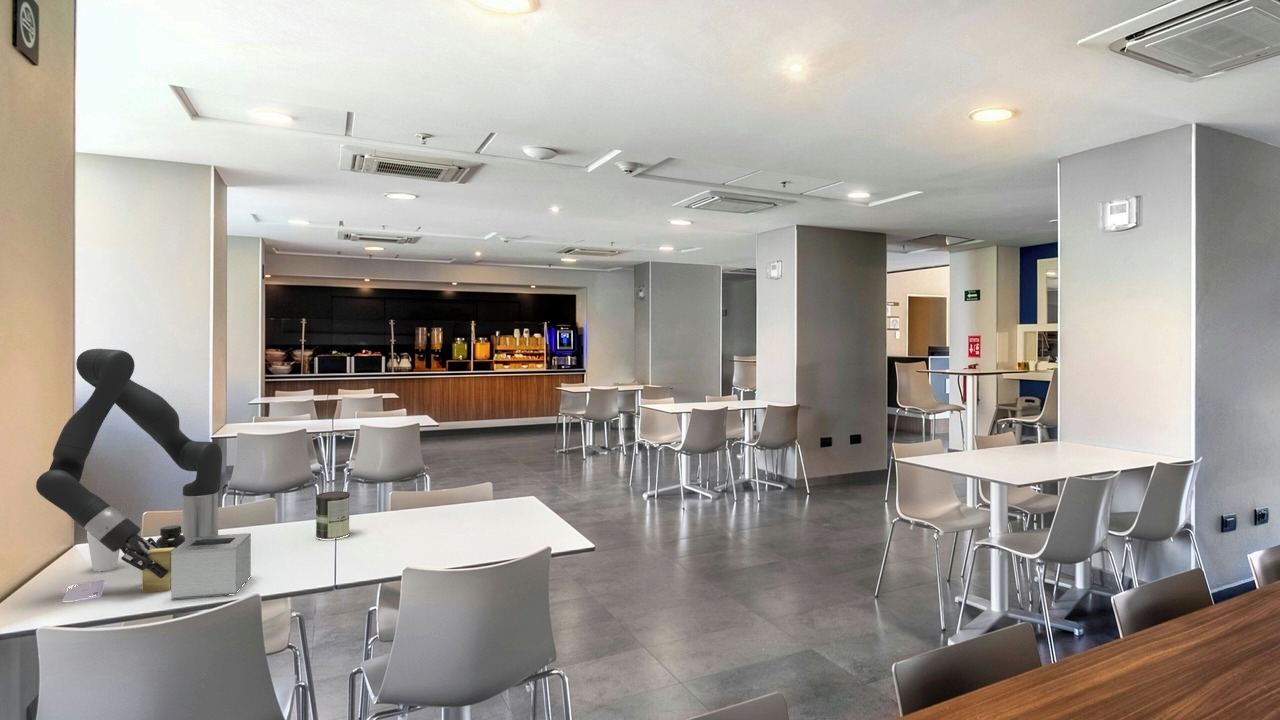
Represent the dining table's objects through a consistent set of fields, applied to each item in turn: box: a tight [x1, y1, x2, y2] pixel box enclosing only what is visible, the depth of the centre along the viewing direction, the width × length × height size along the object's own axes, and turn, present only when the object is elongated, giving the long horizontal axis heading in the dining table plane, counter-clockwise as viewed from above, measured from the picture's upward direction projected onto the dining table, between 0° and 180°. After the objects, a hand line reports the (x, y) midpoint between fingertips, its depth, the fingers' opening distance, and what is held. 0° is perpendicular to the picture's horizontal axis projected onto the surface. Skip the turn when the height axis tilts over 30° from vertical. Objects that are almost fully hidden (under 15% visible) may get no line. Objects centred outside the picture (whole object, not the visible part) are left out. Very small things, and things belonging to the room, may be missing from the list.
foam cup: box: [86, 530, 121, 573], centre depth 190 cm, size 8×8×11 cm
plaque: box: [141, 548, 175, 593], centre depth 174 cm, size 4×6×10 cm, turn 106°
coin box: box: [170, 532, 252, 601], centre depth 175 cm, size 14×14×12 cm
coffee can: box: [315, 490, 351, 539], centre depth 225 cm, size 10×10×14 cm
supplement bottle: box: [155, 525, 185, 548], centre depth 189 cm, size 7×7×12 cm
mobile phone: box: [62, 579, 105, 601], centre depth 172 cm, size 8×1×15 cm
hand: (167, 572), depth 174 cm, fingers closed on plaque, 3 cm apart
